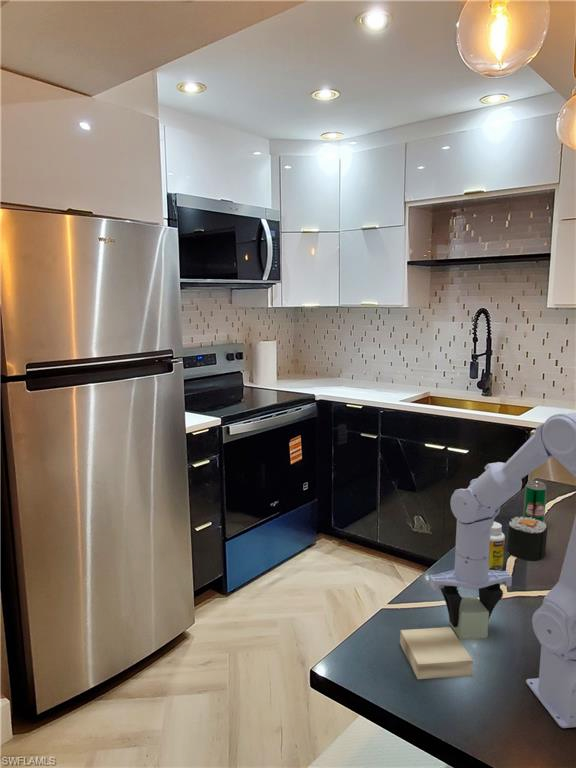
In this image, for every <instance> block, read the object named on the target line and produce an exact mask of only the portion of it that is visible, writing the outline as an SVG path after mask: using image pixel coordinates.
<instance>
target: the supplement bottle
mask: <svg viewBox="0 0 576 768" xmlns="http://www.w3.org/2000/svg"><path fill="white" fill-rule="evenodd" d="M502 527H503V525H502V524H501V523H500V522H497V521H494V522H493V526H492V527H491V533H490V550H489V567H488V570H493V571H503V567H504V558H505V557H504V553H505V543H506V542H505V541H506V536H505V533H503V528H502Z"/></svg>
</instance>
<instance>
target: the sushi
mask: <svg viewBox="0 0 576 768" xmlns="http://www.w3.org/2000/svg"><path fill="white" fill-rule="evenodd" d="M507 540H508V543H507V553H508V552H509V553H508V554H509V555H510V556H512V557H514V558H517V559H520V560H523V561H524V560H525V561H529V562H530V561H531V562H538V561H541V560H542V559H544V558H545V556H546V549H547V540H548V527H547V524H546V523H545V521H544V522H543V523H542V521H540V520H539V521H538V520H535V518H533V519H532V517H530V518H526V517H525V518H523V516H519V517H518V516H515V517H513V518H511V521H509V523H508V538H507Z"/></svg>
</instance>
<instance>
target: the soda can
mask: <svg viewBox="0 0 576 768" xmlns="http://www.w3.org/2000/svg"><path fill="white" fill-rule="evenodd" d="M524 487H525V488H524V489H525V490H524V501H523V504H524V505H523V516H522V517H523V518H525V517H526V518H530V517H532V519H533V518H535V520H538V521H539V520H540V521H542V523H543V522H544V523H545V516H546V513H545V512H546V501H547V486H546V484H545V483H544V482H542V481H540V480H539V481H538V480H528V481H527V483H526V484H525V486H524Z"/></svg>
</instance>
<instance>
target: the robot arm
mask: <svg viewBox="0 0 576 768" xmlns="http://www.w3.org/2000/svg"><path fill="white" fill-rule="evenodd" d="M552 457H554V458H555V460H556V461H558V462H559V463H560V464H561V465H562V466H563V467H564V468H565V469H566V470H567V471H568V472H569V473H570V474H571V475H573V477H575V478H576V412H570V413H556V414H552V415H551V416H549V417H548V418H547V419H546V420H545V421H544V423H541V424H539V425H538V426H537V427H536V428H535V432H534V433H533V434H532V435H531V436H530V437H529V438H528V439H527V440H526V442H524V443H523V445H521V446H520V447H519V449H517V451H516V452H514V454H512V456H511V457H510V458H508V460H506V462H501V461H497V462H492V463H491V462H490V463H487V464H486V465H485V466H484V470H485V471H484V472H482V474H480V475H479V476H478V477H477V478H474V479H471V480H470V482H469V485H468V487H467V488H459V489H455V490H454V492H453V493H452V494H451V498H450V504H449V505H450V510H451V512H452V514H453V516H454V517H455V519H456V534H455V548H454V549H455V555H454V569H452V570H448V571H446V572H445V571H444V572H441V573H438V574H431V575H429V586H430V588H431V589H432V591H433V592H434V591H441V593H442V596H443V598H444V603H445V605H446V610H447V613H448V619H449V620H450V622H451V624H452V625H453V627H457V626H458V620H459V608H460V603H461V600H462V597H463V596H461V594H460V593H459V590H458V588H467V589H473V590H474V589H477V590H478V599H479V600H480V602H481V603H482V604H483V605H484V606H485V608H486V609H487V610H488V611H489V620H490V618H491V615H492V613H493V611H494V608H495V607H496V605H497V604H498V603H499V601H500V600H501V599H502V598H503V597H504V590H503V589H502V588H501V585H503V586H504V587H512V580H513V576H512V575H511V574H510V573H509V572H508V571H507V570H501V571H493V570H488V567H489V550H490V533H491V527H492V526H493V522H495V519H496V517H497V516H498V515H499V513H500V511H501V506H502V505H504V504H505V503H506V502H508V501H509V500H510V499H511V498H512V497H514V496H515V495H516V494H518V493H519V492H520V491H521V489H522V487H523V481H522V479H523V478H525V477H527V475H529V474H531V473H532V472H533V471H535V470H536V469H537V468H539V467H540V466H542V465H543V464H544V463H546V462H547V461H548V460H550V459H552ZM568 540H569V541H568V544H567V548H566V551H565V555H564V559H563V563H562V566H561V570H560V575H559V578H558V581H557V583H556V584H555V585H554V586H553V587H552V588H551V589H550V590H549V591H548V592H547V594H546V595H545V596H544V598H543V601H542V604H541V606H539V608H537V609H536V610H535V611H534V613H533V615H532V620H531V623H532V630H533V632H534V634H535V636H536V638H537V640H538V641H539V642H538V643H539V644H540V645H541V648H540V660H539V669H538V670H539V672H538V673H539V674H538V677H537V678H527V679H526V681H525V683H526V684H527V686H528V688H530V690H531V691H532V692H533V694H534V695H535V696H536V698H537V699H538V700H539V701H540V702H541V704H542V705H543V707H544V708H545V709H546V710H547V711H548V713H549V714H550V716H551V717H552V718H553V720H554V721H555V722H556V724H557V725H558V726H559V727H560V728H562V729H567V728H576V516H575V518H574V521H573V525H572V529H571V533H570V536H569V539H568ZM489 620H488V622H489Z"/></svg>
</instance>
